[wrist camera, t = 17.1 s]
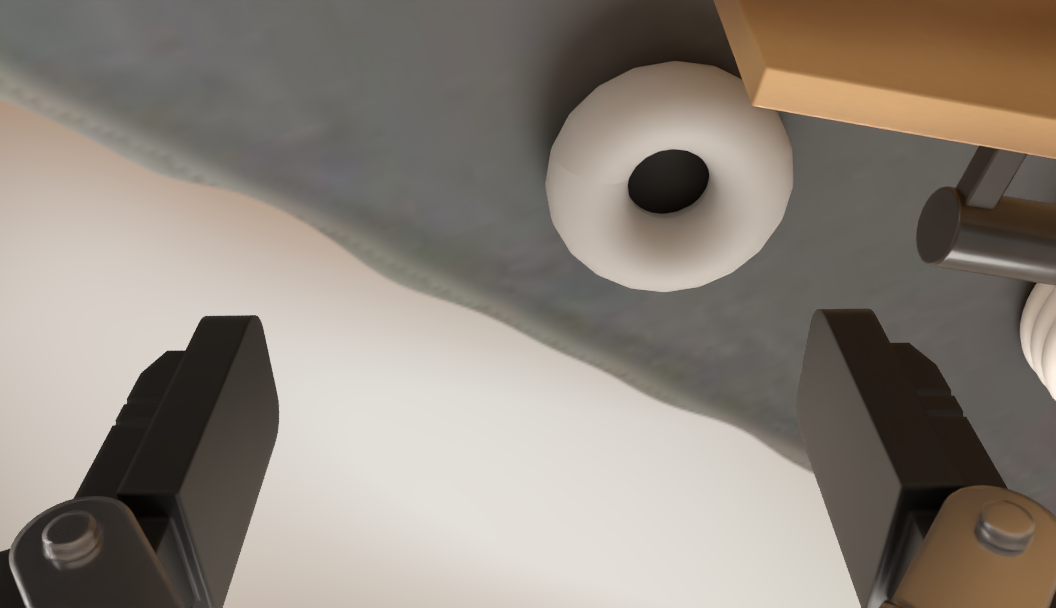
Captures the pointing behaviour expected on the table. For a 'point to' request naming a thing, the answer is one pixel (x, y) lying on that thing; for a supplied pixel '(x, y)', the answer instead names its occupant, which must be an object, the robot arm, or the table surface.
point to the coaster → (1041, 334)
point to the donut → (655, 125)
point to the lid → (925, 103)
